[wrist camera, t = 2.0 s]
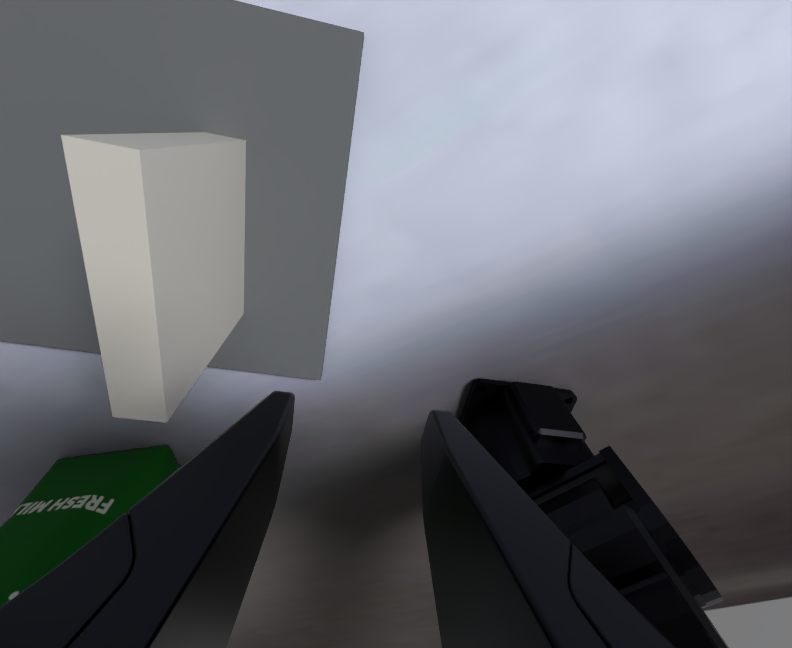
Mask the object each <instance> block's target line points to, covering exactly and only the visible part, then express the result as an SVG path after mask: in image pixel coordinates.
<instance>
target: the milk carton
mask: <svg viewBox="0 0 792 648" xmlns="http://www.w3.org/2000/svg"><path fill="white" fill-rule="evenodd" d="M179 468H180V466H179V465H178V463H177V461H176V459H175V457H174V455H173V454H172V452H171V450H170V448H169V446H168V445H165V446H157V447H149V448H142V449H134V450H126V451H119V452H111V453H103V454H96V455H88V456H80V457H73V458H65V459H58V460H57V461H56V463H55V464H54V465H53V466H52V467H51V469H50V470H49V471H48V472H47V473H46V475H45V476H44V477H43V478H42V479H41V480H40V482H39V483H38V484H37V485H36V486H35V488H34V489H33V490H32V491H31V492H30V494H29V495H28V496H27V497H26V498H25V500H24V501H23V502H22V503H21V504H20V505H19V507H18V508H17V509H16V510H15V511H14V513H13V514H12V515H11V516H10V517H9V519H8V520H7V521H6V522H5V523H4V524H3V526H2V527H1V528H0V607H2V606H3V605H4V604H6V603H7V602H9V601H10V600H11V599H13V598H14V597H16V596H17V595H18V594H20V593H21V592H22V591H24V590H25V589H27V588H28V587H29V586H31V585H32V584H33V583H35V582H36V581H38V580H39V579H40V578H42V577H43V576H44V575H46V574H47V573H49V572H50V571H51V570H53V569H54V568H55V567H57V566H58V565H60V564H61V563H62V562H63V561H65V560H66V559H67V558H68V557H70V556H71V555H72V554H74V553H75V552H76V551H77V550H79V549H80V548H81V547H82V546H84V545H85V544H86V543H88V542H89V541H90V540H91V539H93V538H94V537H95V536H97V535H98V534H99V533H100V532H102V531H103V530H104V529H105V528H106V527H108V526H109V525H110V524H111V523H113V522H114V521H115V520H116V519H118V518H119V517H120V516H121V515H122V514H124V513H127V514H128V511H129V509H130V508H131V507H133V506H134V505H135V504H136V503H137V502H139V501H140V500H141V499H142V498H144V497H145V496H146V495H147V494H148V493H150V492H151V491H152V490H153V489H155V488H156V487H157V486H158V485H159V484H161V483H162V482H163V481H164V480H166V479H167V478H168V477H169V476H170V475H172V474H173V473H174V472H175V471H177V470H178V469H179ZM128 515H129V514H128Z"/></svg>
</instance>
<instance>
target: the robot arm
mask: <svg viewBox="0 0 792 648" xmlns="http://www.w3.org/2000/svg"><path fill="white" fill-rule="evenodd" d="M480 386H484V387H483V388H482V389H478V388H479V387H480ZM568 397H569V398H568ZM566 398H568V399H566ZM565 399H566V400H565ZM576 401H577V397H576V396H575V394H574V393H573V392H572V391H571V390H566V389H558V388H553V387H551V386H545V385H537V384H529V383H522V382H505V381H497V380H489V379H477V380H475V381H474V382H473V384H472V386H471V389H470V392H469V395H468V398H467V401H466V403H465V406H464V409H463V412H462V415H461V418H460V421H459V420H458V419H457V418H456V417H455V416H454V415H453V414H452V413H451V412H449V411H444V410H435V409H433V410H431V411H430V413H429V415H428V419H427V422H426V426H425V429H424V432H423V436H422V440H421V471H422V500H423V519H424V528H425V535H426V542H427V549H428V555H429V562H430V569H431V576H432V582H433V589H434V596H435V603H436V610H437V616H438V623H439V630H440V637H441V644H442V648H728V646H727V644H726V643H725V641H724V640H723V638H722V637H721V636H720V634H719V633H718V631H717V630H716V628H715V627H714V625H713V624H712V623H711V621H710V620H709V618H708V617H707V615H706V614H705V612H704V611H703V609H702V608H704V607H707V606H708V607H709V606H712V605H714V604H717V603H719V602H722V601H724V600H723V598H722V596H721V595H720V593H719V592H718V590H717V589H716V587H715V586H714V585H713V583H712V582H711V580H710V579H709V577H708V576H707V574H706V573H705V572H704V570H703V569H702V567H701V566H700V565H699V563H698V562H697V560H696V559H695V558H694V556H693V555H692V553H691V552H690V551H689V549H688V548H687V547H686V545H685V544H684V542H683V541H682V540H681V538H680V537H679V536H678V534H677V533H676V532H675V530H674V529H673V527H672V526H671V525H670V523H669V522H668V521H667V519H666V518H665V517H664V515H663V514H662V513H661V511H660V510H659V509H658V507H657V506H656V505H655V504H654V502H653V501H652V500H651V498H650V497H649V496H648V495H647V493H646V492H645V491H644V489H643V488H642V487H641V486H640V484H639V483H638V482H637V480H636V479H635V478H634V477H633V475H632V474H631V473H630V471H629V470H628V469H627V468H626V466H625V465H624V464H623V462H622V461H621V460H620V459H619V457H618V456H617V455H616V453H615V452H614V451H613V450H612V448H611V447H610V446H608V447H606V448H604V449H602V450H600V451H599V452H600V453H599V454H597V455H595V456H594V455H593V453H592V452H591V451H590V449H589V448H588V446H587V445H586V443H585V442H584V441H585V439H586V435H585V433H584V432H583V430H582V429H581V427H580V426H579V424H578V423H577V422H576V420H575V419H574V417H573V416H572V414H571V411H572V409H573V407H574V405H575V403H576ZM294 402H295V396H294V394H293V393H290V392H281V391H274V392H272V393H271V394H270V395H268V396H267V397H266V398H265V399H264V400H262V401H261V402H260V403H259V404H257V405H256V406H255V407H254V408H252V409H251V410H250V411H249V412H248V413H246V414H245V415H244V416H243V417H241V418H240V419H239V420H238V421H237V422H235V423H234V424H233V425H232V426H230V427H229V428H228V429H227V430H226V431H224V432H223V433H222V434H221V435H219V436H218V437H217V438H216V439H215V440H213V441H212V442H211V443H210V444H208V445H207V446H206V447H205V448H204V449H202V450H201V451H200V452H199V453H197V454H196V455H195V456H194V457H193V458H191V459H190V460H189V461H188V462H186V463H185V464H184V465H183V466H181V467H180V468H179V469H178V470H177V471H175V472H174V473H173V474H172V475H170V476H169V477H168V478H167V479H166V480H164V481H163V482H162V483H161V484H159V485H158V486H157V487H156V488H155V489H153V490H152V491H151V492H150V493H148V494H147V495H146V496H145V497H144V498H142V499H141V500H140V501H139V502H137V503H136V504H135V505H134V506H133V507H131V508H130V509H129V511H128V514H129V515H128V514H127V513H124V514H122V515H121V516H120V517H119V518H118V519H116V520H115V521H114V522H113V523H111V524H110V525H109V526H108V527H106V528H105V529H104V530H103V531H102V532H100V533H99V534H98V535H97V536H95V537H94V538H93V539H91V540H90V541H89V542H88V543H86V544H85V545H84V546H82V547H81V548H80V549H79V550H77V551H76V552H75V553H74V554H72V555H71V556H70V557H68V558H67V559H66V560H65V561H63V562H62V563H61V564H60V565H58V566H57V567H55V568H54V569H53V570H51V571H50V572H49V573H47V574H46V575H44V576H43V577H42V578H40V579H39V580H38V581H36V582H35V583H33V584H32V585H31V586H29V587H28V588H27V589H25V590H24V591H22V592H21V593H20V594H18V595H17V596H16V597H14V598H13V599H11V600H10V601H9V602H7V603H6V604H4V605H3V606H2V607H0V648H226V647H227V644H228V641H229V638H230V635H231V632H232V630H233V627H234V624H235V621H236V618H237V615H238V612H239V609H240V607H241V604H242V601H243V598H244V595H245V592H246V589H247V586H248V583H249V581H250V578H251V575H252V572H253V569H254V566H255V563H256V560H257V557H258V555H259V552H260V549H261V546H262V543H263V540H264V537H265V534H266V531H267V529H268V526H269V523H270V520H271V517H272V514H273V510H274V507H275V504H276V500H277V496H278V491H279V487H280V482H281V478H282V473H283V469H284V464H285V459H286V455H287V450H288V446H289V441H290V437H291V431H292V424H293V413H294Z"/></svg>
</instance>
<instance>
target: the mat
mask: <svg viewBox="0 0 792 648" xmlns="http://www.w3.org/2000/svg"><path fill="white" fill-rule="evenodd" d="M363 41H364V32H360V31H356V30H352V29H348V28H344V27H340V26H336V25H332V24H328V23H324V22H320V21H316V20H312V19H308V18H304V17H300V16H296V15H292V14H287V13H283V12H279V11H275V10H271V9H267V8H263V7H259V6H255V5H251V4H247V3H243V2H239V1H235V0H0V341H5V342H13V343H21V344H29V345H37V346H45V347H53V348H61V349H70V350H78V351H86V352H94V353H101V351H100V346H99V340H98V335H97V329H96V324H95V319H94V313H93V308H92V302H91V297H90V291H89V286H88V280H87V275H86V269H85V264H84V258H83V253H82V247H81V242H80V236H79V231H78V225H77V220H76V215H75V209H74V204H73V198H72V193H71V187H70V182H69V176H68V171H67V165H66V160H65V154H64V149H63V143H62V138H61V135H84V134H137V133H190V132H207V133H212V134H217V135H221V136H226V137H231V138H236V139H241V140H246V176H245V253H244V314H243V315H242V317H241V318H240V320H239V321H238V322H237V324H236V325H235V327H234V328H233V330H232V331H231V332H230V334H229V335H228V337H227V338H226V340H225V341H224V342H223V344H222V345H221V347H220V348H219V350H218V351H217V352H216V354H215V355H214V357H213V358H212V360H211V361H210V362H209V364H208V365H207V366H208V367H216V368H224V369H232V370H240V371H248V372H257V373H265V374H273V375H281V376H289V377H297V378H305V379H313V380H321V376H322V370H323V362H324V354H325V346H326V338H327V330H328V322H329V314H330V306H331V298H332V290H333V282H334V274H335V266H336V257H337V249H338V241H339V233H340V225H341V217H342V209H343V201H344V193H345V185H346V177H347V169H348V161H349V153H350V145H351V137H352V129H353V121H354V113H355V105H356V97H357V89H358V81H359V73H360V65H361V57H362V49H363Z"/></svg>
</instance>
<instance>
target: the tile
mask: <svg viewBox="0 0 792 648" xmlns="http://www.w3.org/2000/svg"><path fill="white" fill-rule="evenodd" d="M61 138H62V143H63V149H64V154H65V160H66V165H67V171H68V176H69V182H70V187H71V193H72V198H73V204H74V209H75V215H76V220H77V225H78V231H79V236H80V242H81V247H82V253H83V258H84V264H85V269H86V275H87V280H88V286H89V291H90V297H91V302H92V308H93V313H94V319H95V324H96V329H97V335H98V340H99V346H100V351H101V357H102V362H103V368H104V373H105V379H106V384H107V390H108V395H109V401H110V406H111V412H112V417H116V418H125V419H135V420H145V421H155V422H164V423H167V422H168V421H169V419H170V418H171V416H172V415H173V414H174V412H175V411H176V409H177V408H178V407H179V405H180V404H181V402H182V401H183V399H184V398H185V397H186V395H187V394H188V392H189V391H190V389H191V388H192V387H193V385H194V384H195V382H196V381H197V379H198V378H199V377H200V375H201V374H202V372H203V371H204V369H205V368H206V367H207V365H208V364H209V362H210V361H211V360H212V358H213V357H214V355H215V354H216V352H217V351H218V350H219V348H220V347H221V345H222V344H223V342H224V341H225V340H226V338H227V337H228V335H229V334H230V332H231V331H232V330H233V328H234V327H235V325H236V324H237V322H238V321H239V320H240V318H241V317H242V315H243V314H244V253H245V176H246V140H241V139H236V138H231V137H226V136H221V135H217V134H212V133H207V132H190V133H137V134H84V135H61Z"/></svg>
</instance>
